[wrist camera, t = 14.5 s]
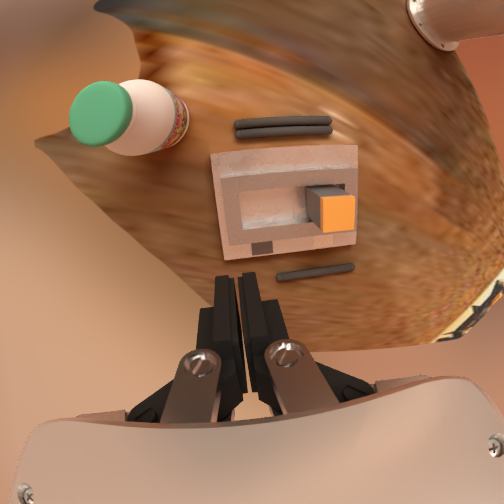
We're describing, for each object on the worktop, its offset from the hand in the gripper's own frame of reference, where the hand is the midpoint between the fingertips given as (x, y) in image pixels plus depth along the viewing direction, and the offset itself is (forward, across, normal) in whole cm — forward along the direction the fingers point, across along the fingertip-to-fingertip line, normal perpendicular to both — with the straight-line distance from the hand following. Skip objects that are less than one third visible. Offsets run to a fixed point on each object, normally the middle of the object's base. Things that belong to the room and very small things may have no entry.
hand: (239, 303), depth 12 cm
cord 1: (+27, -8, -8) cm, 29 cm away
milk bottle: (+27, +8, -10) cm, 30 cm away
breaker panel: (+27, -8, +3) cm, 28 cm away
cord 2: (+27, -12, +15) cm, 33 cm away
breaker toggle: (+25, -12, +3) cm, 28 cm away
